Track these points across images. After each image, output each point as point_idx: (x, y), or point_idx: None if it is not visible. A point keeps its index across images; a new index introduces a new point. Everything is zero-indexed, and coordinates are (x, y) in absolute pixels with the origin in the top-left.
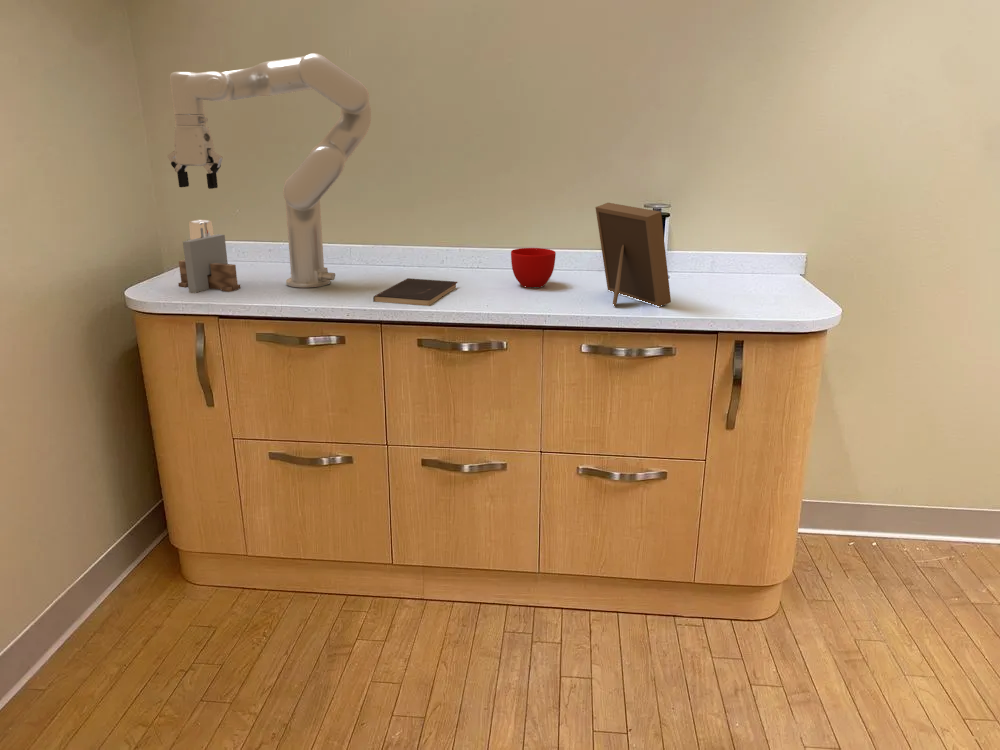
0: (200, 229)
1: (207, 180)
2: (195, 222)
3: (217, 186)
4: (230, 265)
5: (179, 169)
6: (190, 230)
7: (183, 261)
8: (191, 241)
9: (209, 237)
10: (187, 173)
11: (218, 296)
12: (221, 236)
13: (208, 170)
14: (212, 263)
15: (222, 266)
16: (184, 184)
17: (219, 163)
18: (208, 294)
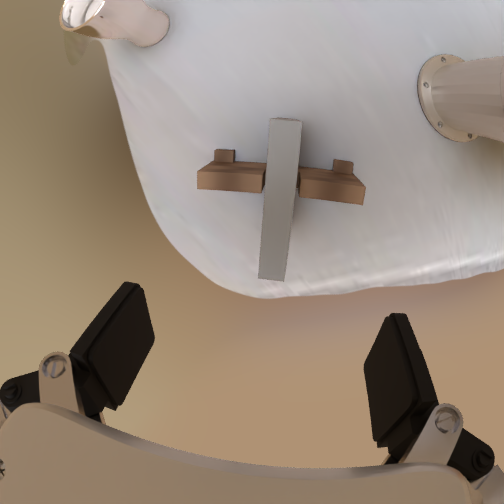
0: (106, 21)
1: (373, 406)
2: (67, 5)
3: (406, 317)
4: (358, 199)
5: (104, 421)
6: (82, 34)
7: (210, 187)
8: (282, 272)
9: (287, 191)
10: (96, 349)
11: (346, 237)
12: (300, 139)
13: (395, 461)
14: (300, 188)
15: (337, 200)
16: (145, 328)
17: (486, 474)
18: (319, 227)
